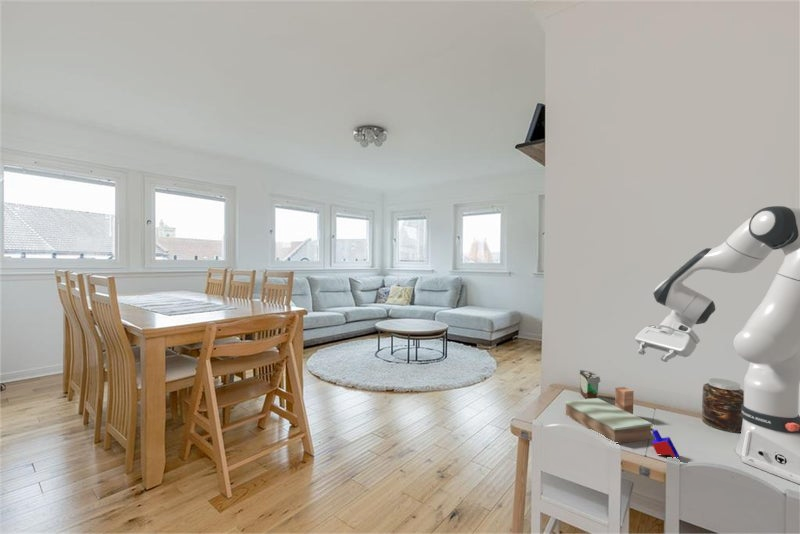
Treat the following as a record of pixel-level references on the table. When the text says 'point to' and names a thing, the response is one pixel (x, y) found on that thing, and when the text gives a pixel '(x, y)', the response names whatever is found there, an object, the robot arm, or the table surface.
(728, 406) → the jar
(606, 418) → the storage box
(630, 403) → the tall block
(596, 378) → the food container
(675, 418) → the table surface
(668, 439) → the toy building block
